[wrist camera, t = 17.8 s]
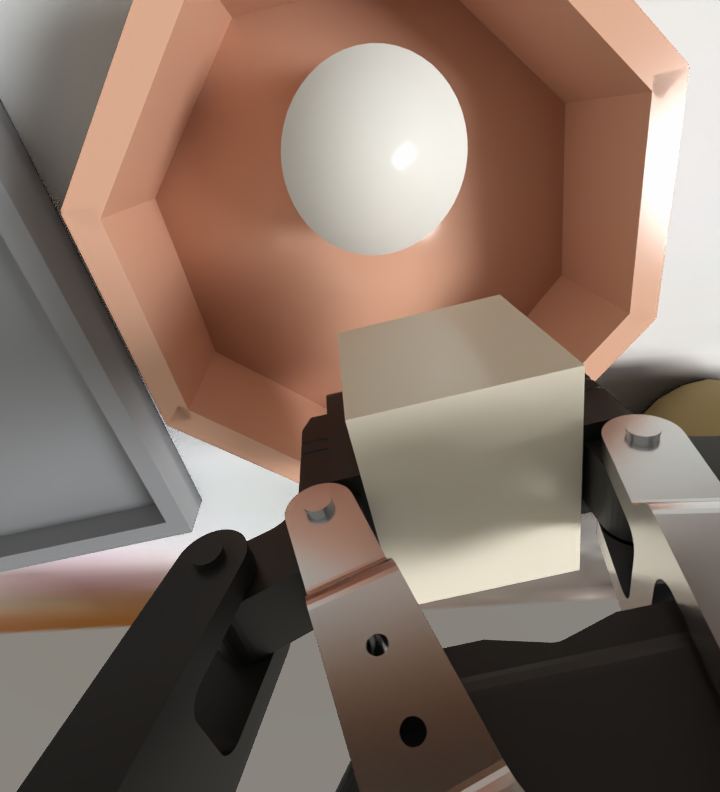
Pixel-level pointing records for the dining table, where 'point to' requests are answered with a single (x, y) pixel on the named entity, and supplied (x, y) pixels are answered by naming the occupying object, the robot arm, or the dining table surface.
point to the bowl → (345, 271)
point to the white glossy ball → (374, 149)
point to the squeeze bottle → (692, 408)
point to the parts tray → (70, 398)
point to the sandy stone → (467, 445)
